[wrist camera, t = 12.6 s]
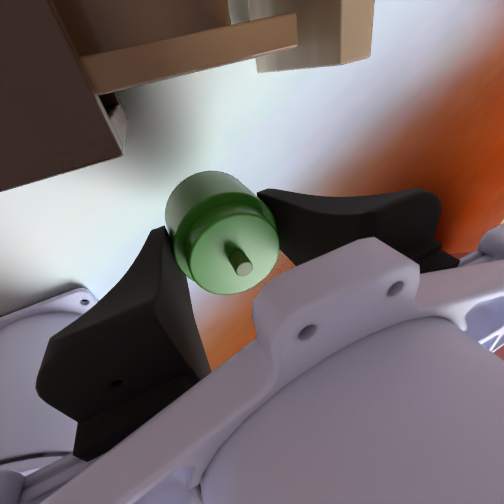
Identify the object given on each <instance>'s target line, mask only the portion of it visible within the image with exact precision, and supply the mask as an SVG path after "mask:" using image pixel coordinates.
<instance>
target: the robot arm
mask: <svg viewBox="0 0 504 504" xmlns="http://www.w3.org/2000/svg"><path fill="white" fill-rule="evenodd" d="M257 197H258V198H259V199H260V200H262V201H263V202H264V203H265V204H266V205H267V206H268V207H269V209H270V210H271V212H272V214H273V216H274V219H275V222H276V229H277V233H278V237H279V243H280V250H281V251H282V252H283V253H284V254H285V255H286V256H287V257H288V258H289V259H290V260H291V261H292V262H293V263H294V264H295V265H296V267H294V268H292V269H289V270H287V271H285V272H283V273H280V274H279V275H278V276H276V277H275V278H273V279H272V280H270V281H269V282H267V283H266V284H265V285H264V286H263V287H262V289H261V290H260V292H259V293H258V295H257V296H256V298H255V299H254V301H253V307H252V319H253V322H254V325H255V329H256V338H255V339H254V340H253V341H252V342H250V343H249V344H248V345H246V346H245V347H244V348H243V349H241V350H240V351H239V352H237V353H236V354H235V355H233V356H232V357H231V358H229V359H228V360H227V361H226V362H224V363H223V364H222V365H220V366H219V367H218V368H216V369H215V370H214V371H212V372H211V369H210V366H209V363H208V360H207V357H206V354H205V351H204V348H203V344H202V341H201V338H200V335H199V332H198V329H197V325H196V322H195V319H194V314H193V310H192V304H191V299H190V294H189V288H188V283H187V278H186V275H185V274H184V273H183V272H182V271H181V269H180V268H179V266H178V265H177V263H176V260H175V257H174V253H173V249H172V245H171V241H170V237H169V234H168V232H167V230H166V228H165V226H162V227H159V228H157V229H154V230H151V232H150V234H149V236H148V238H147V240H146V242H145V244H144V246H143V248H142V249H141V251H140V253H139V255H138V256H137V258H136V259H135V261H134V263H133V264H132V266H131V267H130V268H129V270H128V271H127V272H126V274H125V275H124V276H123V277H122V279H121V280H120V281H119V282H118V283H117V284H116V285H115V286H114V287H113V288H112V289H111V290H110V291H109V292H108V293H107V294H106V295H105V296H104V297H103V298H102V299H101V300H100V301H99V302H98V301H97V300H96V299H95V298H94V297H93V295H92V294H91V293H90V292H89V291H88V290H87V289H85V288H77V289H74V290H71V291H69V292H66V293H63V294H61V295H58V296H55V297H53V298H50V299H47V300H45V301H42V302H39V303H37V304H34V305H32V306H29V307H26V308H24V309H21V310H18V311H16V312H13V313H10V314H8V315H5V316H3V317H0V504H504V360H502V359H501V358H499V357H498V356H497V355H495V354H494V353H493V352H495V351H496V350H497V349H499V348H500V347H501V346H503V345H504V223H503V224H501V225H499V226H497V227H495V228H493V229H491V230H489V231H488V232H486V233H485V234H484V236H483V237H482V239H481V240H480V242H479V245H478V250H476V251H474V252H472V253H470V254H468V255H466V256H464V257H462V258H460V259H457V258H455V257H453V256H451V255H450V254H448V253H446V252H444V251H442V250H440V248H441V247H442V244H441V243H440V242H438V241H436V240H434V239H433V238H434V235H435V232H436V228H437V225H438V222H439V219H440V214H441V201H440V199H439V197H438V196H437V195H436V194H434V193H432V192H429V191H426V190H424V189H421V188H413V189H408V190H402V191H397V192H392V193H386V194H378V195H370V196H356V197H325V196H315V195H306V194H300V193H294V192H289V191H283V190H277V189H266V190H263V191H260V192H257ZM83 299H87V300H88V301H82V300H83Z"/></svg>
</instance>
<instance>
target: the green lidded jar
mask: <svg viewBox="0 0 504 504" xmlns="http://www.w3.org/2000/svg"><path fill="white" fill-rule="evenodd" d="M165 221H166V226H167V230H168V233H169V237H170V241H171V245H172V249H173V253H174V257H175V260H176V263H177V265H178V266H179V268H180V269H181V271H182V272H183V273H184V274H185V275H186V276H187V277H188V278H190V279H192V280H193V281H195V282H196V283H197V284H198V285H199V286H200V287H201V288H203V289H205V290H206V291H209V292H211V293H214V294H220V295H230V294H236V293H240V292H243V291H246V290H248V289H250V288H252V287H254V286H255V285H257V284H258V283H259V282H261V281H262V280H263V279H264V278H265V277H266V276H267V275H268V274H269V273H270V271H271V270H272V268H273V267H274V265H275V263H276V261H277V258H278V255H279V249H280V243H279V237H278V233H277V229H276V222H275V219H274V216H273V214H272V212H271V210H270V209H269V207H268V206H267V205H266V204H265V203H264V202H263V201H262V200H260V199H259V198H258V197H257V196H256V195H255V194H254V193H252V192H251V191H250V190H249V189H248V188H247V187H246V186H244V185H243V184H242V183H241V182H240V181H239V180H238V179H236V178H235V177H233V176H231V175H229V174H227V173H223V172H219V171H204V172H200V173H196V174H194V175H191V176H190V177H188V178H186V179H185V180H183V181H182V182H181V183H180V184H179V185H178V186H177V187H176V188H175V189H174V190H173V192H172V193H171V195H170V197H169V199H168V201H167V205H166V209H165Z"/></svg>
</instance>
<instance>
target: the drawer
mask: <svg viewBox="0 0 504 504" xmlns="http://www.w3.org/2000/svg"><path fill="white" fill-rule="evenodd" d="M52 1H53V3H54V5H55V7H56V9H57V11H58V13H59V15H60V18H61V20H62V22H63V24H64V26H65V28H66V30H67V32H68V34H69V36H70V38H71V40H72V42H73V44H74V47H75V49H76V51H77V53H78V55H79V57H80V59H81V61H82V63H83V65H84V67H85V69H86V71H87V73H88V76H89V78H90V80H91V82H92V84H93V86H94V88H95V90H96V92H97V94H98V96H99V95H103V94H107V93H111V92H115V91H119V90H124V89H128V88H132V87H136V86H140V85H144V84H148V83H152V82H157V81H161V80H165V79H169V78H173V77H177V76H181V75H186V74H190V73H194V72H198V71H202V70H206V69H210V68H214V67H219V66H223V65H227V64H231V63H235V62H239V61H243V60H248V59H252V58H256V65H257V72H258V73H265V72H275V71H286V70H296V69H306V68H317V67H327V66H337V65H343V64H347V63H351V62H354V61H358V60H362V59H366V58H368V57H370V53H371V40H372V27H373V14H374V2H375V0H247V2H248V9H249V16H250V21H246V22H242V23H237V24H232V25H231V20H230V14H229V9H228V3H227V0H52Z"/></svg>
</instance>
